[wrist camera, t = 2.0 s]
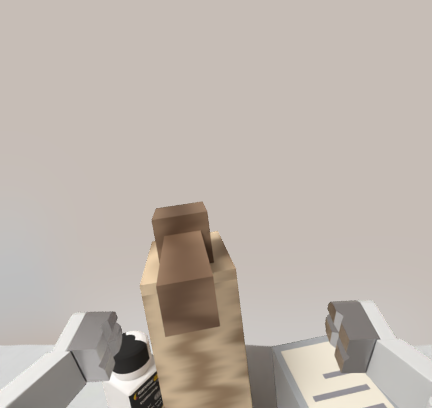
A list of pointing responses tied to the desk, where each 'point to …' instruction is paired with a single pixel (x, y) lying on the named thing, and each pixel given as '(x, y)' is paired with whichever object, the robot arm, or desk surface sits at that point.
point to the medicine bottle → (133, 375)
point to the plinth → (321, 379)
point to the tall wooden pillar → (201, 343)
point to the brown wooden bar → (185, 269)
